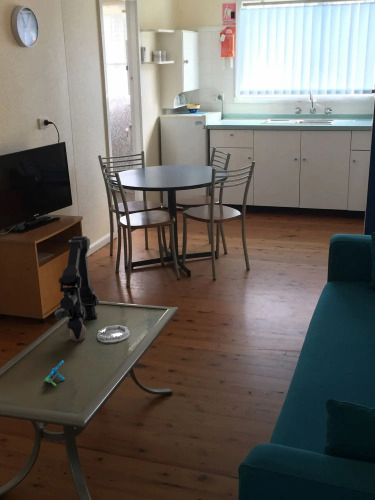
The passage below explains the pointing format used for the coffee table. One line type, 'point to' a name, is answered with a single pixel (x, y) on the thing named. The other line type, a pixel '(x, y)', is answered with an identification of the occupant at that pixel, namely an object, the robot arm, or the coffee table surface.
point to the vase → (82, 334)
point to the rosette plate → (113, 334)
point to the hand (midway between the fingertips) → (78, 334)
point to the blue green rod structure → (54, 371)
